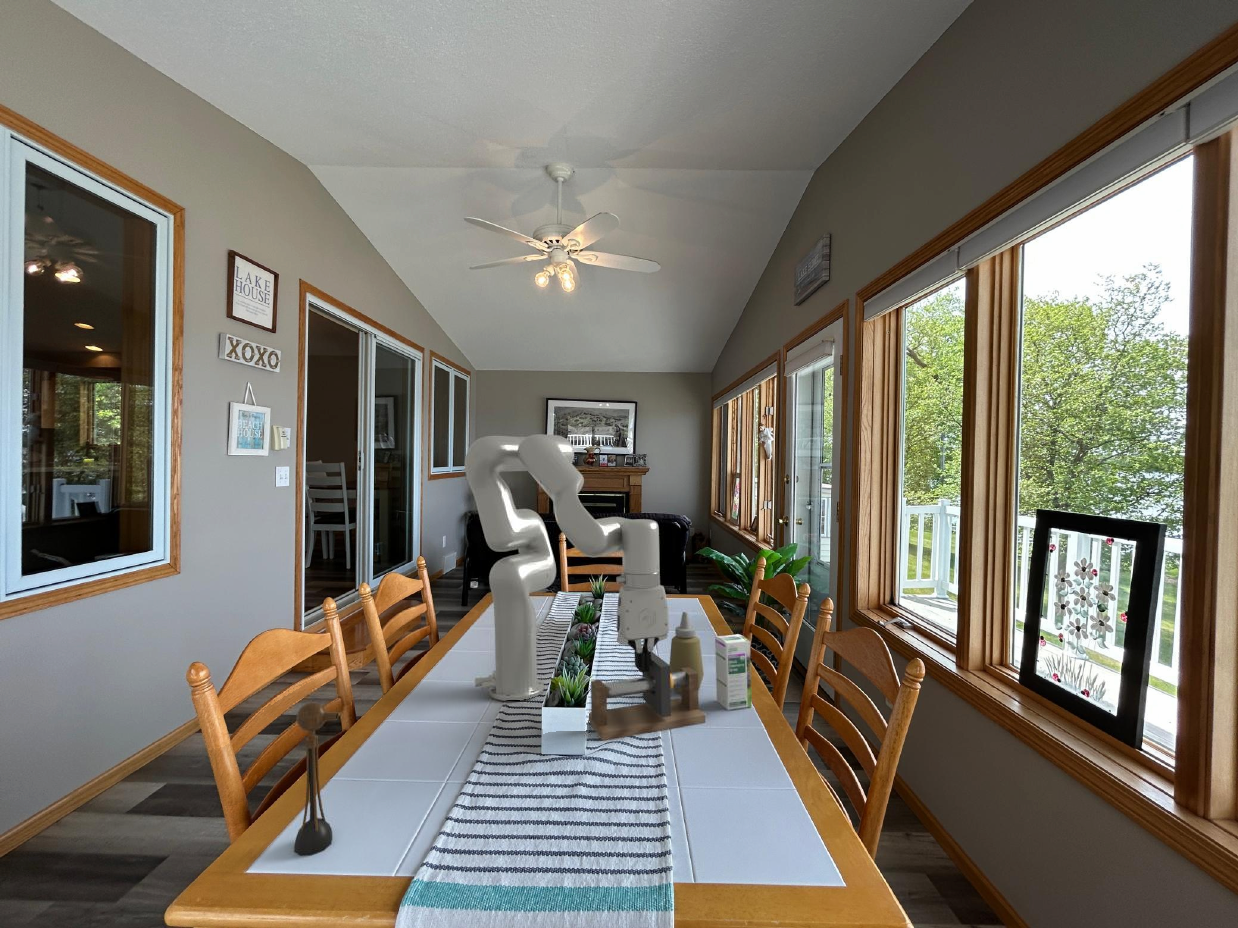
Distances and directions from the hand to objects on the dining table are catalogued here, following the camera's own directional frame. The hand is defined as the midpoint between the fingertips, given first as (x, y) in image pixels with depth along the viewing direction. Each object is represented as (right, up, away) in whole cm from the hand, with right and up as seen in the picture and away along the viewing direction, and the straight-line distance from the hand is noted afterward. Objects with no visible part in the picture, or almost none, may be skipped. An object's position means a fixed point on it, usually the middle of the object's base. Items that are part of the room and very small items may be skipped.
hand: (643, 669), depth 122 cm
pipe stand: (+1, -11, 0) cm, 11 cm away
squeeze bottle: (+11, -11, +17) cm, 22 cm away
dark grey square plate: (+3, -8, +1) cm, 9 cm away
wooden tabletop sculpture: (-47, -12, -38) cm, 62 cm away
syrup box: (+20, -11, +8) cm, 24 cm away
